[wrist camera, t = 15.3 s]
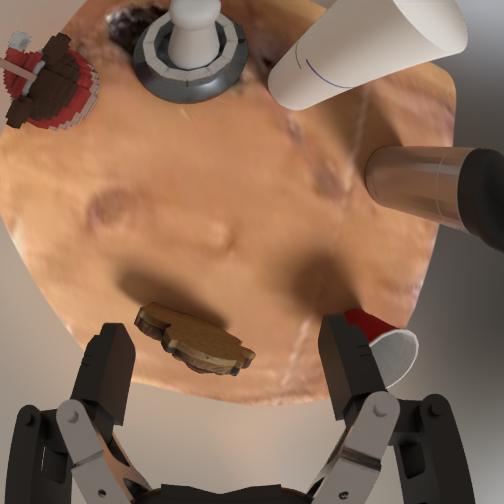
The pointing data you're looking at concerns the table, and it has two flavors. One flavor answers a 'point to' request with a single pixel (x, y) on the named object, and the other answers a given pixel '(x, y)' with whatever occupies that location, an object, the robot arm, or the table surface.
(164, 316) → the wooden carving
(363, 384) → the robot arm
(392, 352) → the plastic cup
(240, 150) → the table surface
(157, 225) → the table surface
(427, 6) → the cylindrical container
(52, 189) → the table surface
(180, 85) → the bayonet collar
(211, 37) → the salt shaker
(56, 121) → the cake
